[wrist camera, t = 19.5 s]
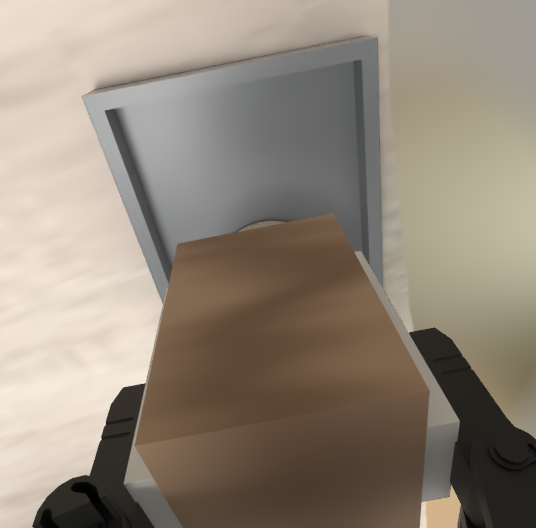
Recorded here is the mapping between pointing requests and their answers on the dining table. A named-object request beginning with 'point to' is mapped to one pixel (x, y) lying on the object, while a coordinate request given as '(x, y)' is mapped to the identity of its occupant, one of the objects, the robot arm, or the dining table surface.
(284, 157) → the tray
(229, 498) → the walnut block
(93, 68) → the dining table surface
